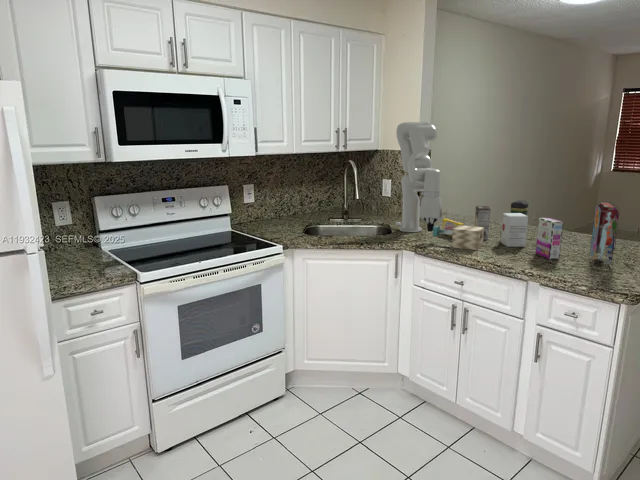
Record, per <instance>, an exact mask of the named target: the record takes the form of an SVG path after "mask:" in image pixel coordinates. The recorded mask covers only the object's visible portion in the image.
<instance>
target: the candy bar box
mask: <svg viewBox="0 0 640 480" xmlns="http://www.w3.org/2000/svg"><path fill="white" fill-rule="evenodd" d="M563 227H564V221H561V220H557V219H554V218H551V217H539V218H538V225H537V235H536V245H535V254H536V255H538V256H540V257H543V258H545V259H547V260H560V257H561V249H562V248H561V247H562V239H563V231H564V228H563Z"/></svg>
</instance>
